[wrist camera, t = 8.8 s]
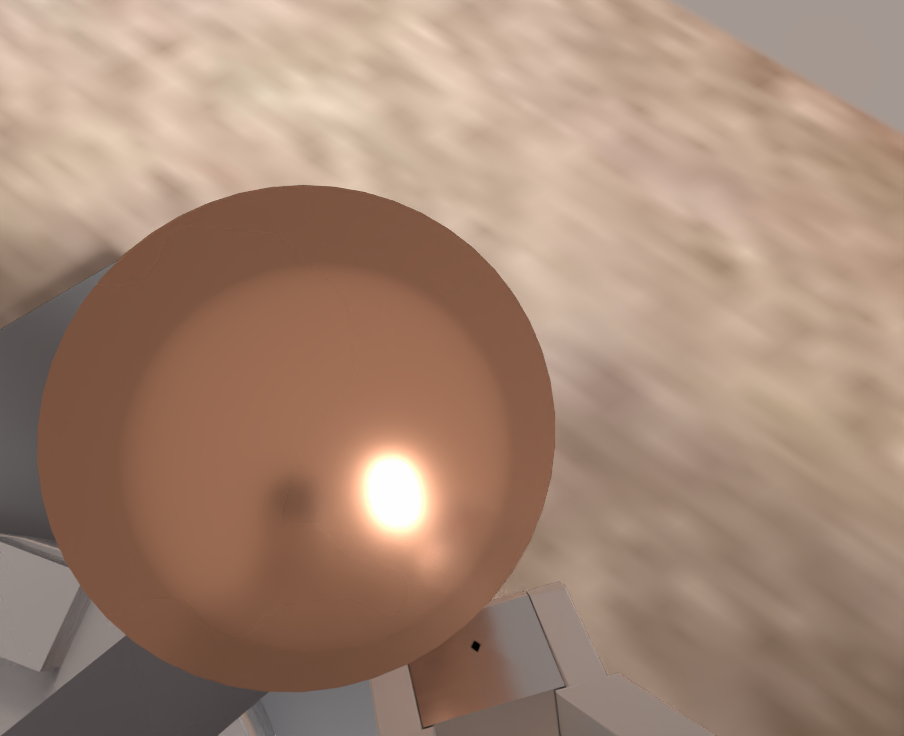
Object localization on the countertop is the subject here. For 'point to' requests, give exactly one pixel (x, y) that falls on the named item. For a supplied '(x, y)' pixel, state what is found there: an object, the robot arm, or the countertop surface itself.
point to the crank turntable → (270, 467)
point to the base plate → (23, 513)
